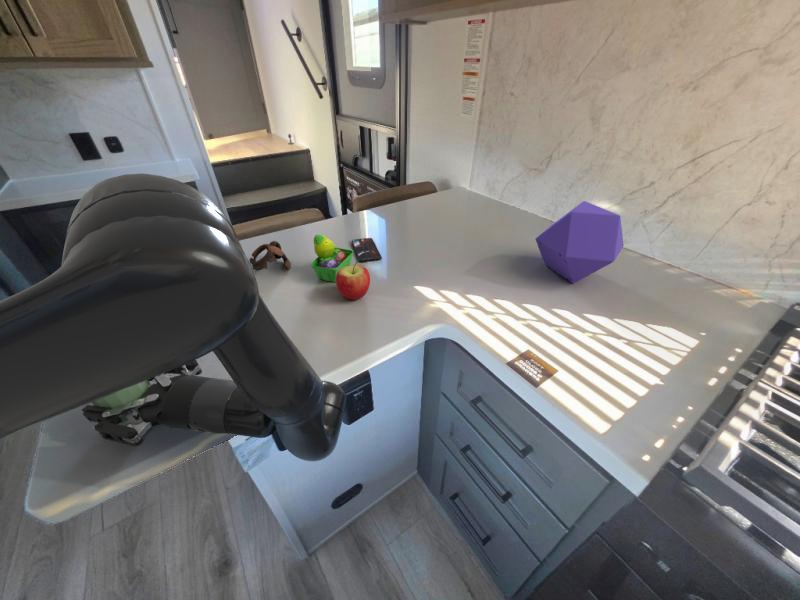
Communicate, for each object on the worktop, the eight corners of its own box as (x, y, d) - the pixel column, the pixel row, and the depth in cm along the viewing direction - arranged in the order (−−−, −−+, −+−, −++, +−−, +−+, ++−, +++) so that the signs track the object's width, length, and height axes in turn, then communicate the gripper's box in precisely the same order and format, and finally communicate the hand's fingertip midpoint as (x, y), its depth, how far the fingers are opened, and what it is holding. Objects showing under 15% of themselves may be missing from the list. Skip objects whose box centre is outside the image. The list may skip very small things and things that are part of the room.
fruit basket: (337, 286, 84) (332, 247, 77) (308, 279, 86) (301, 242, 80) (355, 266, 93) (352, 230, 86) (328, 261, 95) (324, 225, 88)
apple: (376, 299, 79) (375, 264, 73) (344, 309, 76) (340, 273, 70) (363, 283, 85) (361, 250, 79) (333, 292, 82) (328, 257, 76)
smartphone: (359, 260, 94) (351, 239, 105) (359, 262, 94) (351, 241, 106) (382, 257, 96) (372, 237, 107) (382, 259, 96) (372, 239, 108)
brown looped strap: (291, 276, 88) (270, 257, 82) (264, 288, 91) (242, 270, 85) (296, 248, 96) (277, 228, 90) (271, 259, 98) (251, 241, 92)
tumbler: (152, 432, 49) (120, 391, 43) (106, 436, 49) (67, 395, 43) (171, 397, 55) (145, 356, 49) (130, 401, 54) (98, 359, 48)
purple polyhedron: (606, 300, 87) (661, 235, 79) (564, 287, 78) (620, 212, 69) (550, 262, 105) (590, 205, 96) (510, 247, 95) (550, 183, 86)
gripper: (230, 351, 50) (135, 340, 52) (164, 434, 39) (44, 417, 40) (243, 382, 55) (155, 371, 56) (187, 465, 43) (78, 448, 45)
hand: (109, 390), depth 48 cm, fingers closed on tumbler, 6 cm apart
